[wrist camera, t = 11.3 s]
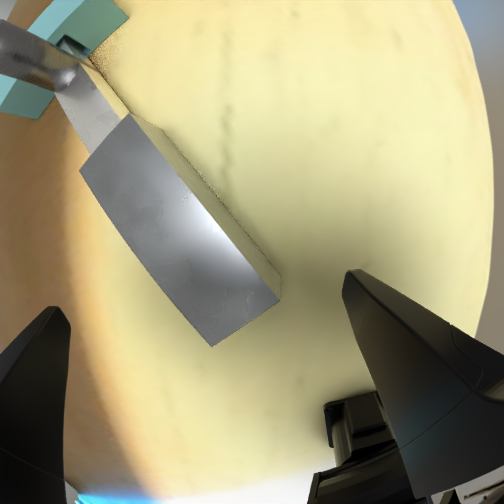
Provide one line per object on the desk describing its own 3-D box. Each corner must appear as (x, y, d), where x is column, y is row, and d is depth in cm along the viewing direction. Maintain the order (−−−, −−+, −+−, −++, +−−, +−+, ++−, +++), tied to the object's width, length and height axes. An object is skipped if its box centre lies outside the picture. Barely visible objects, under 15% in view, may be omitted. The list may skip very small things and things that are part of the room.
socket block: (129, 18, 17) (98, -12, 11) (37, 119, 20) (-3, 111, 14) (108, 1, 16) (80, -24, 11) (26, 92, 19) (-9, 82, 13)
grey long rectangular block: (280, 276, 20) (279, 300, 15) (227, 315, 21) (211, 347, 16) (162, 129, 19) (129, 112, 14) (118, 174, 20) (78, 170, 15)
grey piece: (188, 183, 18) (59, 167, 6) (154, 215, 19) (17, 239, 7) (75, 40, 17) (-2, -2, 5) (54, 65, 17) (-27, 33, 6)
